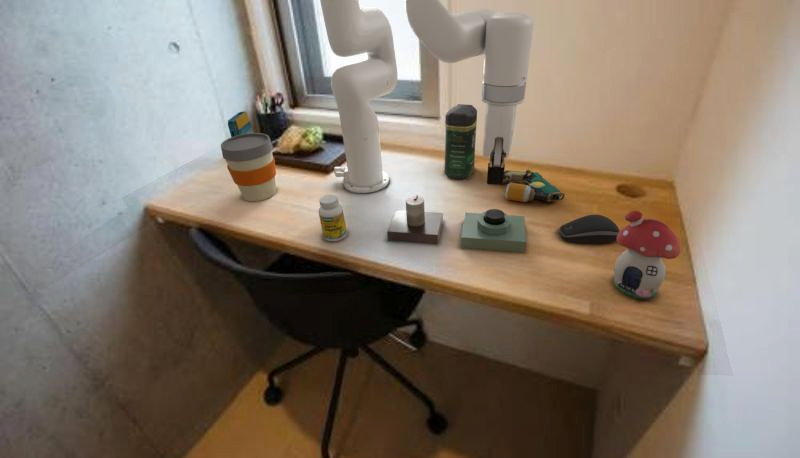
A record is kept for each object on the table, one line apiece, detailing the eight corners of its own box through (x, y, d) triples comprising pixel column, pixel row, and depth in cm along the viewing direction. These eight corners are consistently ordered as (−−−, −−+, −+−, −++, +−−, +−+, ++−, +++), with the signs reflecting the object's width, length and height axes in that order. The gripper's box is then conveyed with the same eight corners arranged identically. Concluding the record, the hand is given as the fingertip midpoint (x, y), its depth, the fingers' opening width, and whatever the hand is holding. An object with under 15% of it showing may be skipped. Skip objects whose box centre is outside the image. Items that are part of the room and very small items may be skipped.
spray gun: (493, 178, 114) (549, 180, 113) (500, 206, 100) (564, 207, 98) (495, 164, 112) (552, 165, 111) (502, 189, 98) (567, 191, 96)
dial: (423, 227, 90) (422, 204, 87) (405, 225, 91) (403, 203, 88) (426, 217, 93) (425, 195, 90) (408, 216, 94) (407, 194, 91)
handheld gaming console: (251, 156, 136) (239, 111, 127) (263, 156, 135) (251, 110, 127) (238, 169, 128) (224, 121, 119) (251, 169, 127) (238, 121, 119)
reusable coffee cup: (247, 209, 106) (231, 155, 98) (228, 193, 114) (212, 142, 106) (291, 192, 113) (279, 140, 104) (270, 178, 121) (257, 129, 113)
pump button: (484, 225, 87) (484, 218, 86) (485, 215, 90) (485, 208, 89) (503, 226, 86) (504, 219, 85) (504, 216, 89) (504, 209, 88)
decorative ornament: (598, 281, 76) (617, 211, 68) (619, 266, 79) (639, 198, 71) (649, 309, 70) (677, 236, 62) (669, 292, 73) (698, 220, 64)
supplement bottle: (345, 227, 97) (340, 190, 91) (348, 239, 92) (342, 202, 87) (322, 231, 96) (315, 194, 90) (324, 244, 91) (317, 206, 86)
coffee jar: (469, 181, 112) (472, 114, 102) (441, 178, 115) (441, 112, 104) (477, 166, 120) (480, 102, 109) (450, 163, 122) (451, 100, 112)
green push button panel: (460, 247, 87) (461, 230, 85) (464, 222, 95) (465, 205, 93) (524, 252, 85) (527, 234, 82) (523, 226, 93) (525, 208, 90)
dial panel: (388, 240, 91) (387, 231, 90) (396, 219, 98) (396, 210, 97) (437, 244, 89) (437, 235, 87) (442, 222, 96) (442, 212, 95)
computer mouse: (555, 227, 92) (557, 211, 89) (611, 225, 91) (616, 210, 89) (564, 245, 86) (567, 229, 84) (625, 244, 85) (630, 228, 83)
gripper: (484, 80, 81) (478, 166, 91) (479, 104, 69) (473, 200, 79) (523, 80, 79) (513, 167, 89) (526, 105, 67) (514, 202, 77)
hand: (494, 182), depth 84 cm, fingers closed
